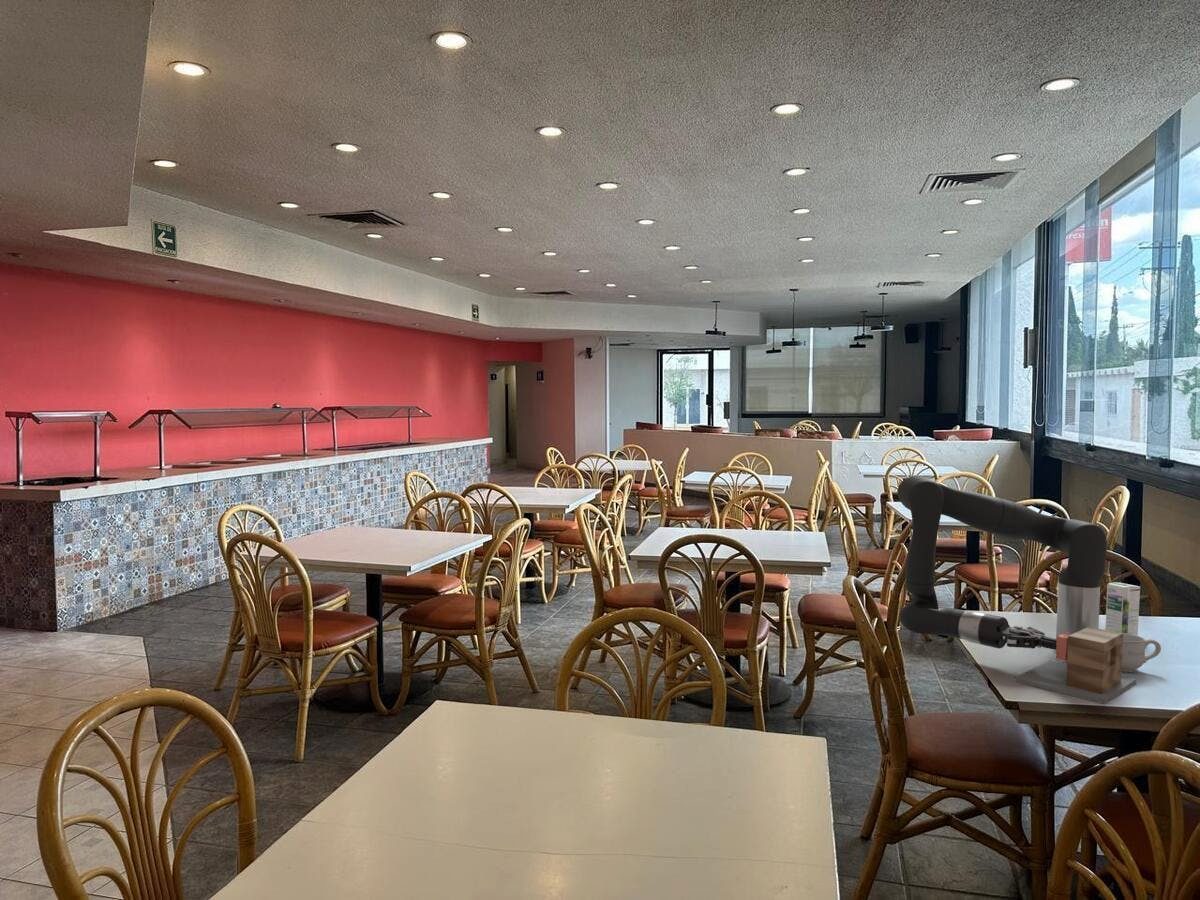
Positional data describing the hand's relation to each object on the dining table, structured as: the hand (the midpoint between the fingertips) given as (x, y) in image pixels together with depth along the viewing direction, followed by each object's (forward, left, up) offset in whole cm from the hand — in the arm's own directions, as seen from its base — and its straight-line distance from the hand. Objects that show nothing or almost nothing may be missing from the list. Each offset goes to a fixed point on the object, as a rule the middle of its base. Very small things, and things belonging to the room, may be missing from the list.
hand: (1060, 645), depth 184 cm
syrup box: (-52, -3, -8) cm, 53 cm away
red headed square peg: (0, +4, -3) cm, 5 cm away
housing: (0, +7, -8) cm, 11 cm away
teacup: (-21, +7, -8) cm, 24 cm away
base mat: (-1, +3, -8) cm, 9 cm away
